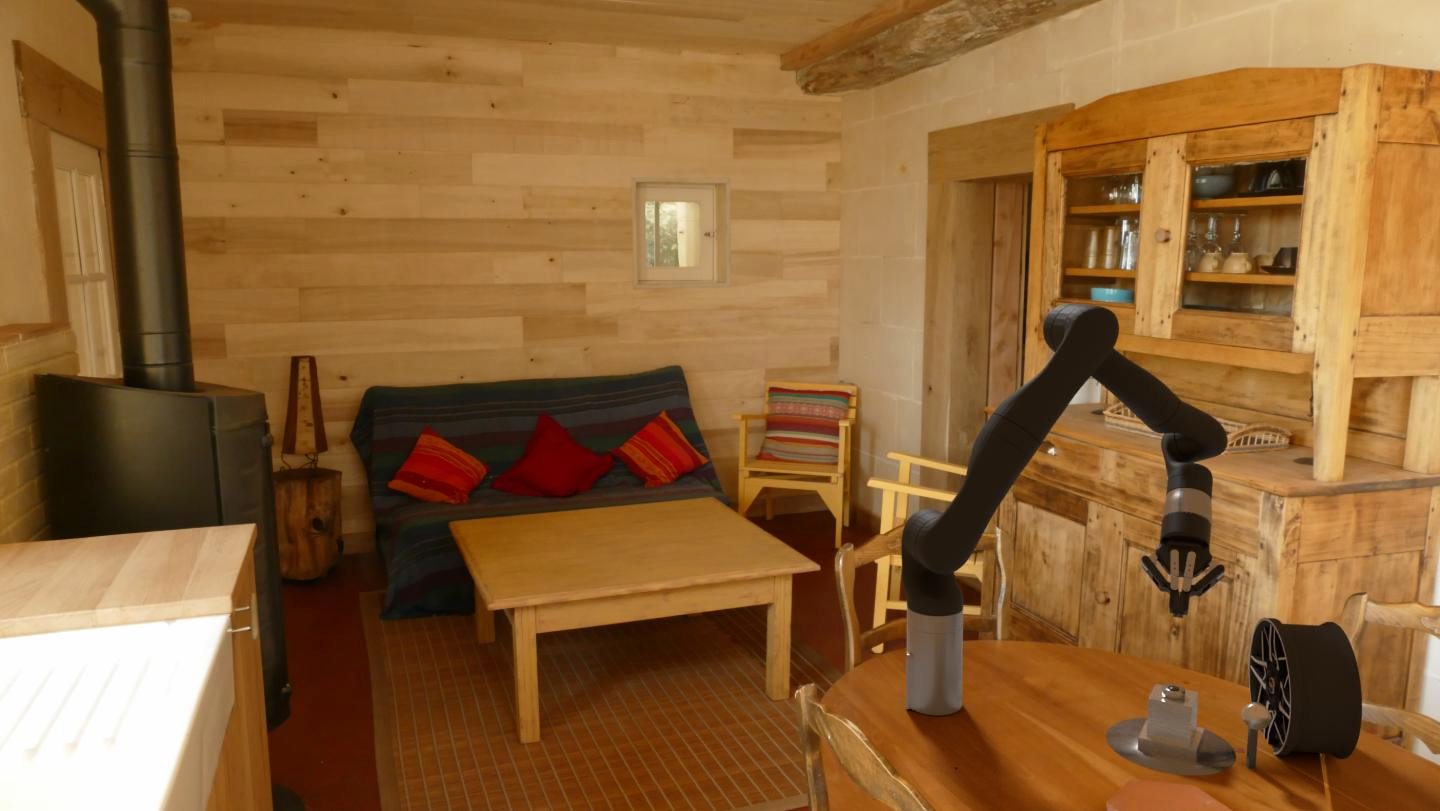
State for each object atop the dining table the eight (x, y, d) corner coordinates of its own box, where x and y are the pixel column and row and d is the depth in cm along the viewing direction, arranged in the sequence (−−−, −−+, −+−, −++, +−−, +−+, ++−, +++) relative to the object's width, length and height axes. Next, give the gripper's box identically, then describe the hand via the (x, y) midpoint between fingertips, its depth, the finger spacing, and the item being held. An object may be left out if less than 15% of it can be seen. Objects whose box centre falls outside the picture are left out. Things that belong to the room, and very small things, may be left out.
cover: (1137, 749, 153) (1140, 691, 152) (1147, 728, 160) (1150, 672, 158) (1195, 763, 149) (1198, 703, 147) (1203, 740, 155) (1206, 683, 154)
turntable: (1116, 772, 148) (1116, 769, 148) (1097, 716, 165) (1097, 713, 165) (1262, 784, 144) (1262, 780, 144) (1227, 725, 161) (1227, 722, 161)
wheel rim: (1245, 717, 165) (1252, 599, 162) (1307, 721, 163) (1315, 602, 160) (1286, 780, 146) (1294, 647, 143) (1357, 786, 144) (1367, 651, 141)
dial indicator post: (1240, 779, 146) (1244, 705, 145) (1234, 768, 149) (1238, 695, 148) (1267, 781, 146) (1272, 706, 144) (1260, 770, 149) (1265, 697, 147)
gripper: (1143, 505, 170) (1132, 598, 161) (1231, 514, 164) (1225, 611, 155) (1144, 528, 176) (1133, 619, 167) (1229, 537, 170) (1223, 632, 161)
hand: (1178, 615), depth 161 cm, fingers closed
